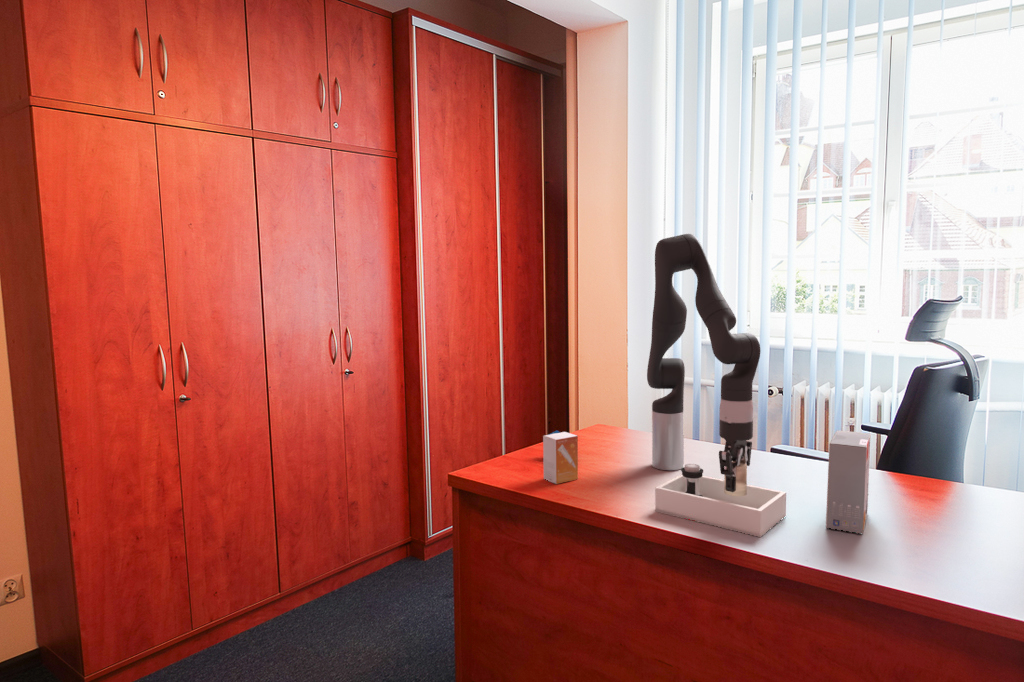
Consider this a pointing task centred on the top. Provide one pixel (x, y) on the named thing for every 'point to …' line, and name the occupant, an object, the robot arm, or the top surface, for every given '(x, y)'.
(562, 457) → the small box
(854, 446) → the hard drive box
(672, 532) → the top surface
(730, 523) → the tote
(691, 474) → the push button
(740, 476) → the maple cylinder
